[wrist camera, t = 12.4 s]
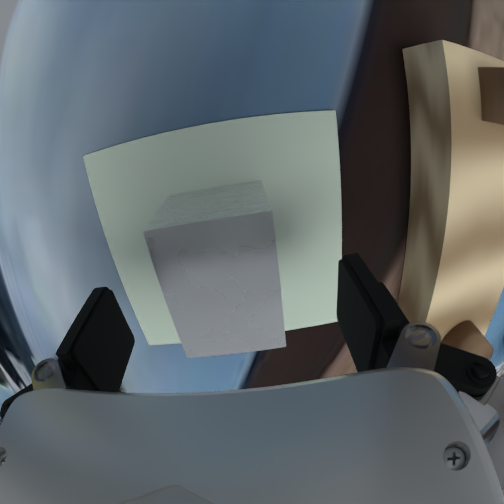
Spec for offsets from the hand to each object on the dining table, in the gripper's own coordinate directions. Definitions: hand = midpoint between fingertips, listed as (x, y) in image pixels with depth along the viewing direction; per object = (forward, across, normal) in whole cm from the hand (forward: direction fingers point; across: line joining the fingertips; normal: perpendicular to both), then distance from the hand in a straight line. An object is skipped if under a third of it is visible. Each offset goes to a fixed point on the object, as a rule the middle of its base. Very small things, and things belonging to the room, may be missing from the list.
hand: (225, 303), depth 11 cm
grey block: (+6, 0, 0) cm, 6 cm away
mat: (+6, 0, 0) cm, 6 cm away
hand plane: (+6, -16, 0) cm, 17 cm away
